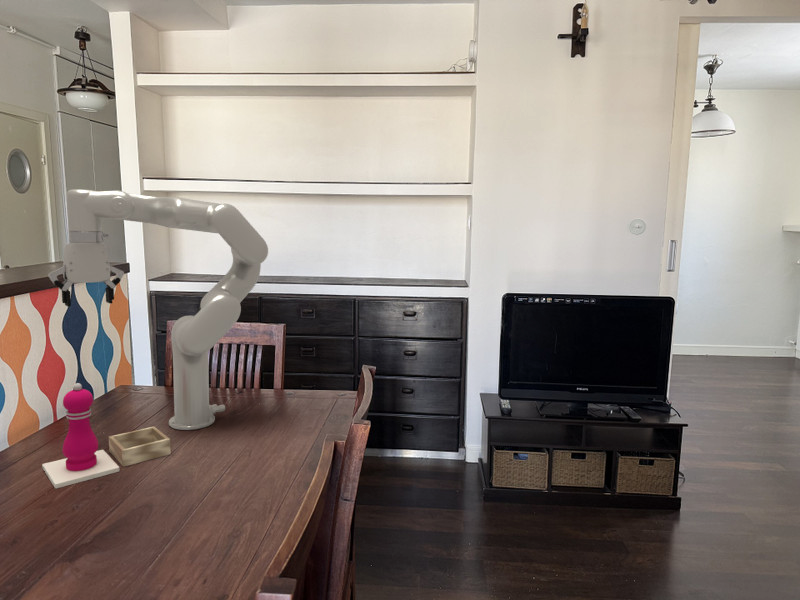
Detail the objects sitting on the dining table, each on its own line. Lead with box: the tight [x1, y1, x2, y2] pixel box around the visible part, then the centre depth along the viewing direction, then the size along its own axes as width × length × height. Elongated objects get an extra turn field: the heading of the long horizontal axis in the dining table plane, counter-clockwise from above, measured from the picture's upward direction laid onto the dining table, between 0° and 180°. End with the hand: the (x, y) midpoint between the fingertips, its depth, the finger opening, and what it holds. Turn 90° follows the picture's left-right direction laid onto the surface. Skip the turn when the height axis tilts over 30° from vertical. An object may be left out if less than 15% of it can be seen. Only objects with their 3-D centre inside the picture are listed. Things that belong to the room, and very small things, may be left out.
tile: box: [41, 449, 120, 490], centre depth 126 cm, size 13×13×1 cm
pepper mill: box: [62, 382, 99, 471], centre depth 125 cm, size 7×7×20 cm
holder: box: [108, 426, 171, 467], centre depth 136 cm, size 11×11×4 cm
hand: (89, 304), depth 140 cm, fingers open, 9 cm apart
